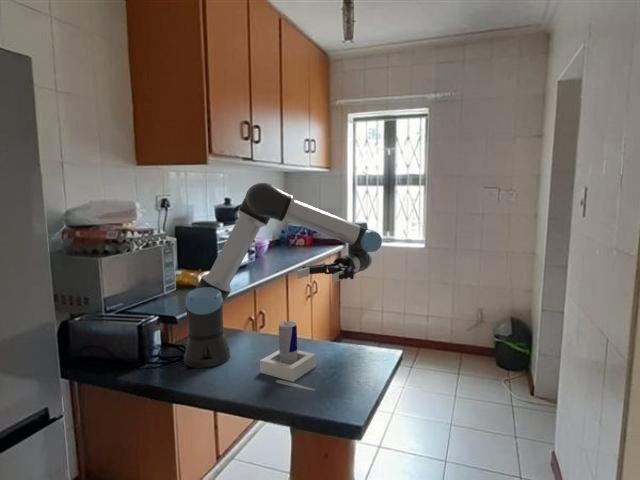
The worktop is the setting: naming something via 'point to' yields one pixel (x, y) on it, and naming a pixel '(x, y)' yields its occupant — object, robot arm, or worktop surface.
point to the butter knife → (293, 385)
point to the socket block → (286, 371)
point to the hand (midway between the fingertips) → (314, 276)
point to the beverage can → (288, 342)
